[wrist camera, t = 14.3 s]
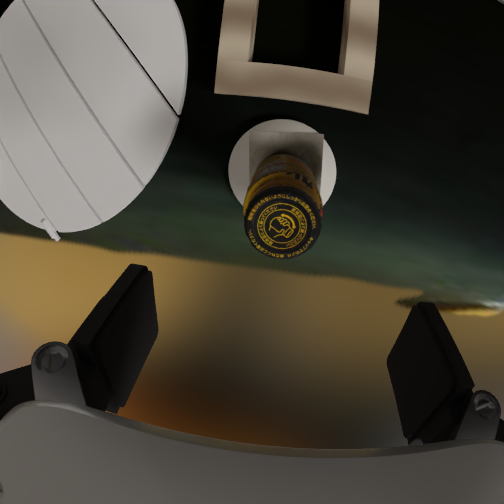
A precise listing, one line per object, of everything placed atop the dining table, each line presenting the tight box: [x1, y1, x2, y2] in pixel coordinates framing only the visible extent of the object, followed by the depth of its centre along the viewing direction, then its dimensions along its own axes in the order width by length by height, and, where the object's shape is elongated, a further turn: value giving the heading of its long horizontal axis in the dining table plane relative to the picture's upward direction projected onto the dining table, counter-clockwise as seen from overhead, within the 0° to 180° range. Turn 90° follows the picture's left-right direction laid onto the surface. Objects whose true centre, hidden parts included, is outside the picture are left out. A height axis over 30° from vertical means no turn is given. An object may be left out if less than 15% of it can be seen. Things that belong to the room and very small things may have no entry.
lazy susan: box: [0, 0, 188, 242], centre depth 27 cm, size 40×39×3 cm
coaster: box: [229, 119, 336, 207], centre depth 31 cm, size 11×11×1 cm
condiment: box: [243, 131, 324, 259], centre depth 25 cm, size 7×8×12 cm
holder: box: [214, 0, 379, 114], centre depth 22 cm, size 16×14×4 cm
